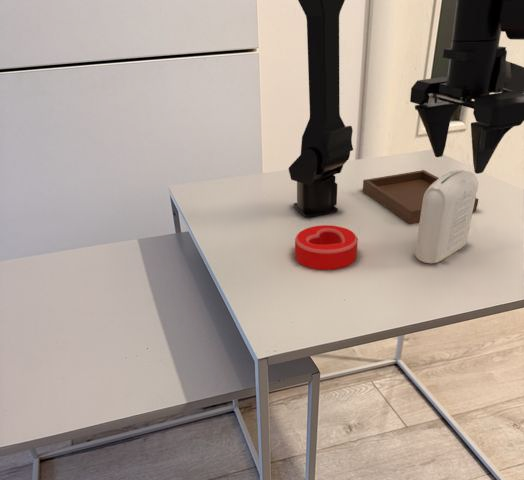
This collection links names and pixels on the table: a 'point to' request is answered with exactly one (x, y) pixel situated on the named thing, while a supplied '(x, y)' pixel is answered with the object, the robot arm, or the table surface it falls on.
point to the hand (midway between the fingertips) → (457, 164)
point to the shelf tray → (402, 193)
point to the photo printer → (446, 216)
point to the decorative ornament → (326, 247)
